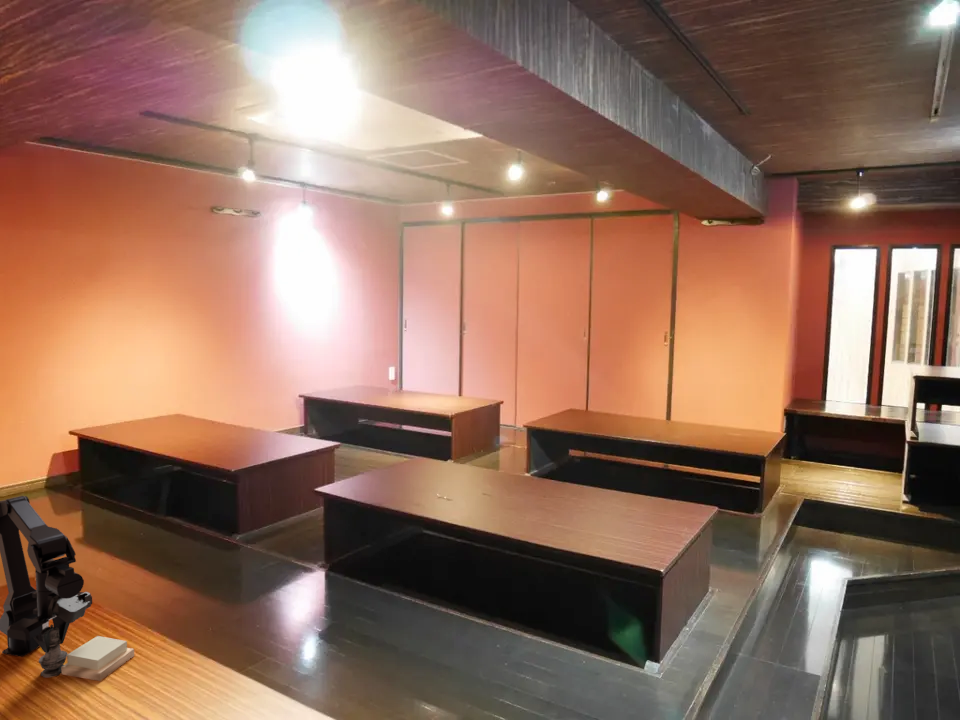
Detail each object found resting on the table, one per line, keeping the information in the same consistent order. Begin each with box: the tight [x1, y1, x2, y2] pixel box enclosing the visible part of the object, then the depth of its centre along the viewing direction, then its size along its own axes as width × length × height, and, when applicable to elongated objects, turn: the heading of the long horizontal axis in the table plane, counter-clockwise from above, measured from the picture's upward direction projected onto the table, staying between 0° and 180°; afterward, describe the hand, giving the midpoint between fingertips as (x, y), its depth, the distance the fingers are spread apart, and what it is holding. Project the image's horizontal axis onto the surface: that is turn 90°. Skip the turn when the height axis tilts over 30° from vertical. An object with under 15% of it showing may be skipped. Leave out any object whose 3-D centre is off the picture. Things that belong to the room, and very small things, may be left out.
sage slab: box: [66, 635, 128, 670], centre depth 158 cm, size 9×9×2 cm
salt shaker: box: [38, 623, 68, 678], centre depth 155 cm, size 6×6×12 cm
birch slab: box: [61, 647, 135, 682], centre depth 159 cm, size 11×11×2 cm
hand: (53, 647), depth 155 cm, fingers closed on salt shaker, 4 cm apart
